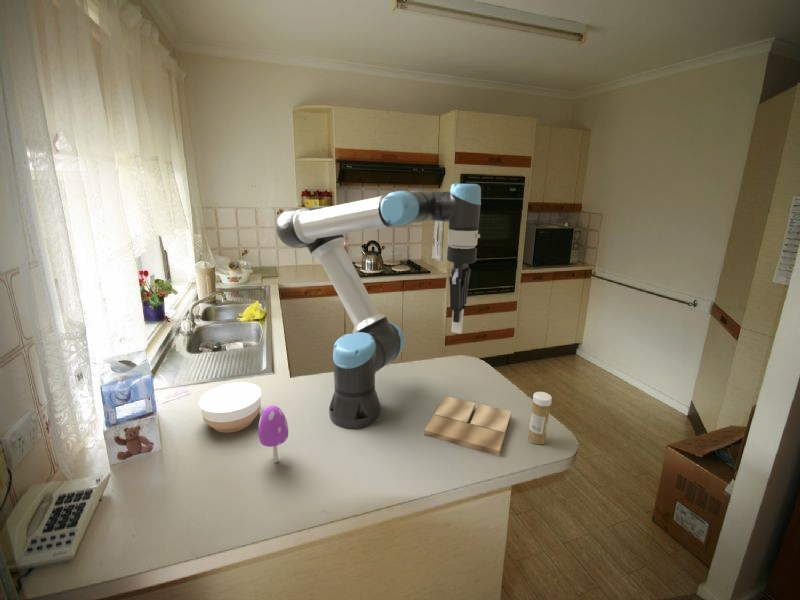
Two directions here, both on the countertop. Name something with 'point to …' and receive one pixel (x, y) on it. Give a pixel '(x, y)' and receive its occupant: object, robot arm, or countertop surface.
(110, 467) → the countertop surface
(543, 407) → the sprinkles bottle
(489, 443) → the laid board
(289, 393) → the countertop surface
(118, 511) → the countertop surface
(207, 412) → the bowl
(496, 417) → the plank
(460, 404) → the plank
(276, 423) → the toy
